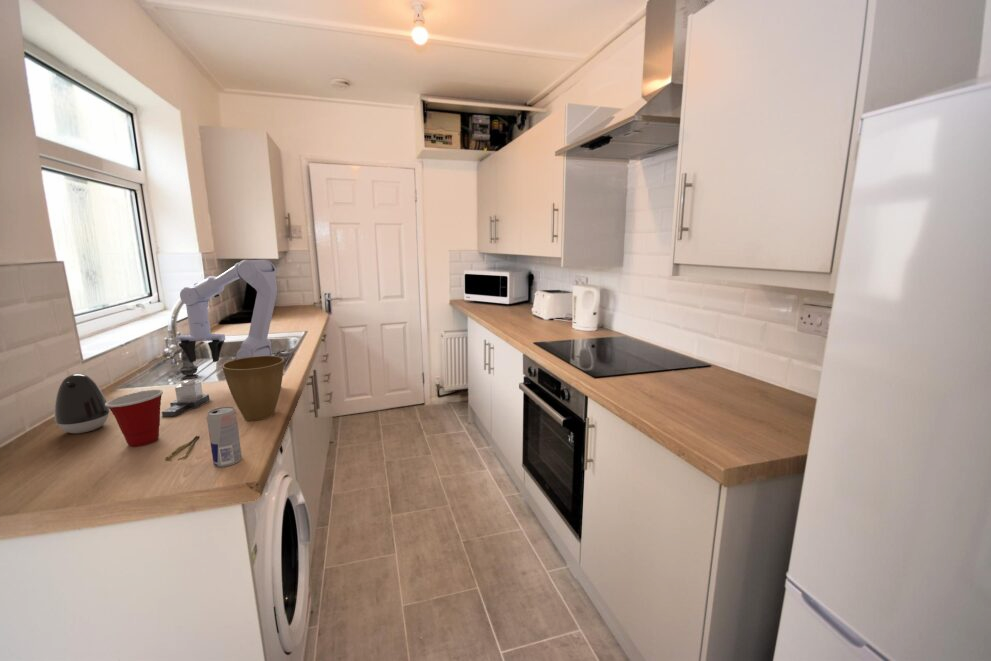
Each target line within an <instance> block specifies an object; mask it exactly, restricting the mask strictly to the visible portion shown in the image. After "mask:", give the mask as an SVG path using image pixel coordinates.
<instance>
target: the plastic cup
mask: <svg viewBox="0 0 991 661" xmlns="http://www.w3.org/2000/svg"><path fill="white" fill-rule="evenodd" d="M163 393H164V392H163V390H162V389H149V390H147V389H146V390H143V391H136V392H132V393H128V394H124V395H121V396H118V397H115V398H112V399H110V400H108V401H107V402H106V403H105V406H106V407H108V408H109V410H110V412H111V413H112V415H113V416H114V418H115V421H116V422H117V425H118V427H119V429H120V431H121V433H122V435H123V437H124V439H125V442H126V444H127V445H128V446H129V447H132V448H134V447H135V448H136V447H142V446H147V445H150V444H153V443H155V442H156V441H157V440H159V437H160V426H161V424H160V423H161V405H162V404H161V403H162V402H161V401H162V396H163Z"/></svg>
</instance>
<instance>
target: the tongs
mask: <svg viewBox="0 0 991 661" xmlns="http://www.w3.org/2000/svg"><path fill="white" fill-rule="evenodd" d="M199 438H200V435H196V436H194V437H193V439H191V440H190V441H188V442H187V443H184V444H182V445H180V446H178V447H177V448H175V450H174V451H172V452H171V454H170V455H169V456H166V457H165V458H164V460H165V461H166V462H171V461H172V458H173V457H174V456H176V455H177V454H178V453H179V452H181V451H183V450H184V449H185V448H187V447H188V448H187V450H186V452H185V455H184V456H182V457H179V458H177V461H180V460H185V459H186V458H187V457H188V455H189V454H190V452H191V450H192V448H193V447H194V445H195V443H196V442H197V440H198V439H199Z"/></svg>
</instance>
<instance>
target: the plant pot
mask: <svg viewBox="0 0 991 661" xmlns="http://www.w3.org/2000/svg"><path fill="white" fill-rule="evenodd" d="M284 363H285V359H284V357H282V356H276V355H275V356H274V355H271V356H256V357H247V358H240V359H237V358H236V359H233V360H228V361H227V362H225V363H223V364H222V371H223V375H224V378H225V380H226V383H227V386H228V389H229V391H230V394H231V396H232V398H233V401H234V402H235V404H236V407H237V408H238V410H239V412H240V414H241V415H242V417H243V418H244V420H247V421H251V422H252V421H253V422H254V421H262V420H266V419H268V418H270V417H272V416H273V415H274V414H275V411H276V407H277V404H278V402H279V398H280V392H281V387H282V383H283V375H284V374H283V373H284Z"/></svg>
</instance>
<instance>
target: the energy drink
mask: <svg viewBox="0 0 991 661" xmlns="http://www.w3.org/2000/svg"><path fill="white" fill-rule="evenodd" d="M237 416H238V415H237V411H236V409H235V407H234V406H231V405H230V406H221V407H214V408H213V409H210V410H208V411H207V415H206V421H207V428H208V435H209V443H210V448H211V449H210V450H211V456H212V463H213V466H215V467H217V468H224V467H230V466H232V465H235V464H237V463H239V462H240V461H241V460H242V457H243V456H242V450H241V449H242V447H241V442H240V432H239V425H238V418H237Z"/></svg>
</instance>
